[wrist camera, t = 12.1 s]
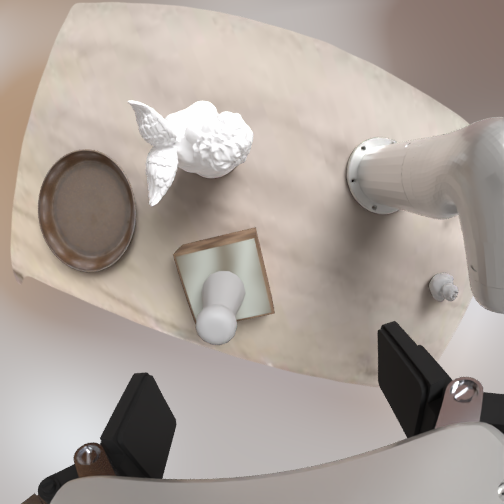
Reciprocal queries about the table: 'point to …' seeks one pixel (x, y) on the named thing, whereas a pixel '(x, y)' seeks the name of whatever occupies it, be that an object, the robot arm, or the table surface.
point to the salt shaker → (220, 307)
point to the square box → (226, 259)
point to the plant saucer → (87, 210)
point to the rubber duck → (443, 287)
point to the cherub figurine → (191, 143)
